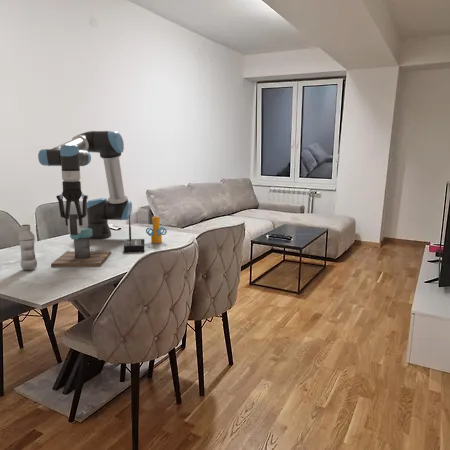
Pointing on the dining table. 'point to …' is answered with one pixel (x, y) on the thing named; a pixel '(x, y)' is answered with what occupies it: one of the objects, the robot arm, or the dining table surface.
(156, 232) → the cylinder
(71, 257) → the base
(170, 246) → the dining table surface
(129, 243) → the wireless controller
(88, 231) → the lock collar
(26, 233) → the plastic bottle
